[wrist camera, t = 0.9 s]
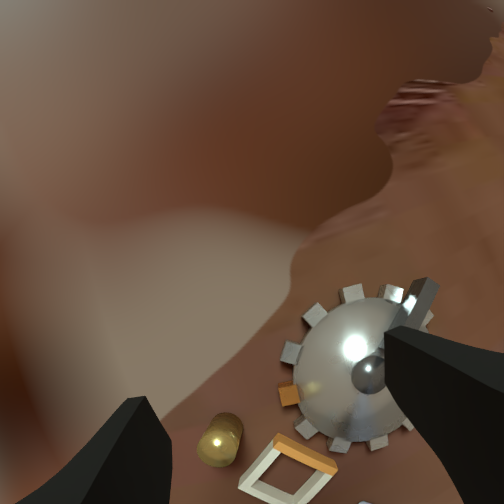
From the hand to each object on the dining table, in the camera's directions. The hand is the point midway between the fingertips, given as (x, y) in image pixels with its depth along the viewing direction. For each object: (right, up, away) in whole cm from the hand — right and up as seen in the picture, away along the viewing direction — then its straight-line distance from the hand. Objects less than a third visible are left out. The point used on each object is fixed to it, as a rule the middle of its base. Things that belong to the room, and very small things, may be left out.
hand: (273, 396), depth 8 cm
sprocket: (+10, -7, +19) cm, 22 cm away
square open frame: (+3, -18, +17) cm, 25 cm away
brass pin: (-3, -13, +18) cm, 23 cm away
